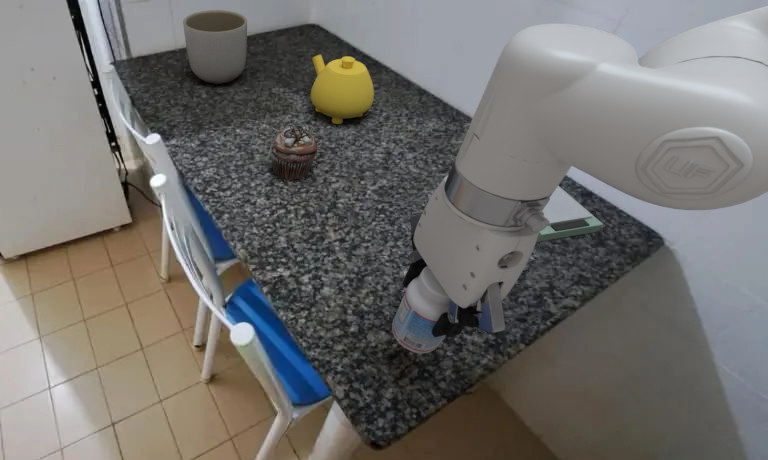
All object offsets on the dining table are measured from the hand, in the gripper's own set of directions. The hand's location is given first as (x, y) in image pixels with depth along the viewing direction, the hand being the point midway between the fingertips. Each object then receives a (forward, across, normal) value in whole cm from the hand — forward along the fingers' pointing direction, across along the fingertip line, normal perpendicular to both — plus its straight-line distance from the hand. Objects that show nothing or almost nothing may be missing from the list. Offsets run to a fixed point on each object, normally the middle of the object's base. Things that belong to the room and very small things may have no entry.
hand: (429, 306), depth 46 cm
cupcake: (+12, +45, +4) cm, 46 cm away
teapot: (+12, +68, -14) cm, 70 cm away
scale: (+13, +22, -40) cm, 48 cm away
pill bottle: (+6, 0, 0) cm, 6 cm away
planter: (+11, +92, +13) cm, 93 cm away
